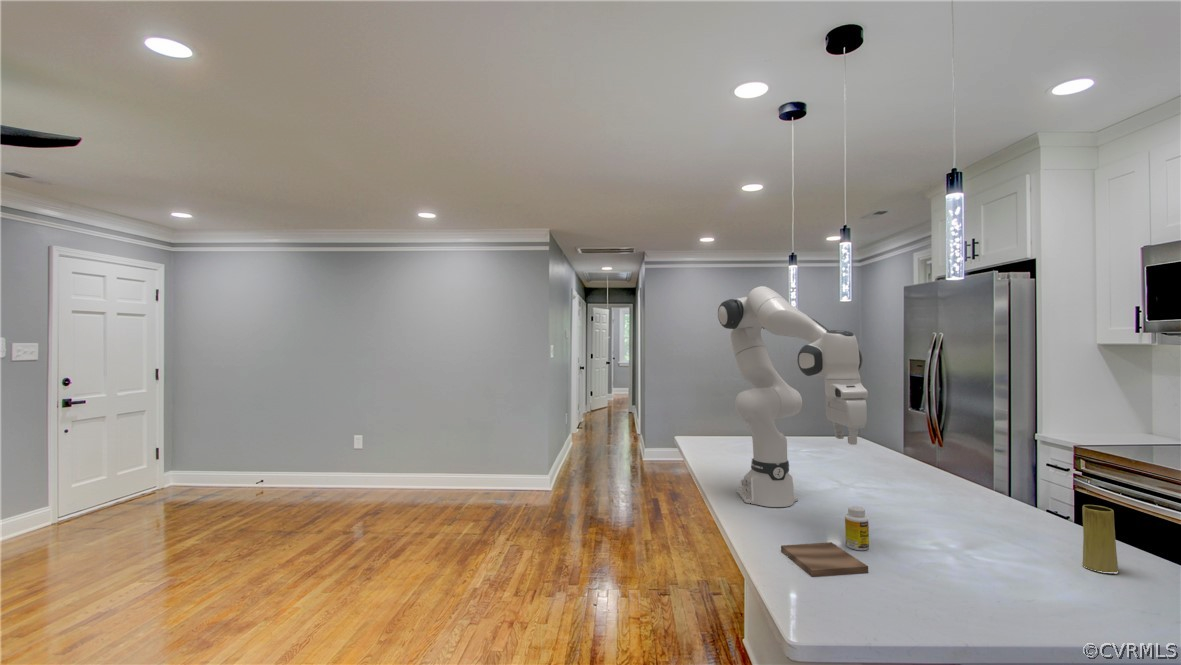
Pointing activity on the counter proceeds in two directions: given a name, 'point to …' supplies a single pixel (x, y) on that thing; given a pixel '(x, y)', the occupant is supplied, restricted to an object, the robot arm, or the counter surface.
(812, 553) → the walnut board
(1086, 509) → the vase
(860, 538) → the supplement bottle
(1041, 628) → the counter surface
